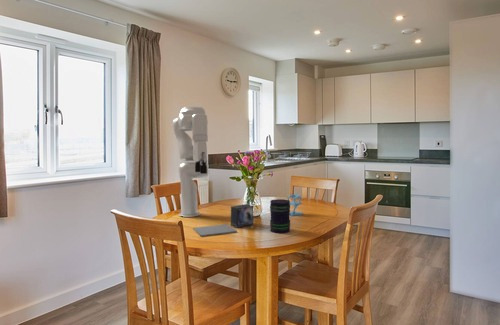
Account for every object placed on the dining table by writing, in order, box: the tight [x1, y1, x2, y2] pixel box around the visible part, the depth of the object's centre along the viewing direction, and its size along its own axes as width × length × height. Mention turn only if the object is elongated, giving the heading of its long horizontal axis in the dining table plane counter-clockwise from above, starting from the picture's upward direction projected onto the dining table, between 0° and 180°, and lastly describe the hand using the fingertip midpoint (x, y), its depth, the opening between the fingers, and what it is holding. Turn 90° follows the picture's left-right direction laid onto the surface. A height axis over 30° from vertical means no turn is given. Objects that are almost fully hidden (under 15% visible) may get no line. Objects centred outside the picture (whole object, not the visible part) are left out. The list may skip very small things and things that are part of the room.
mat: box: [192, 223, 238, 237], centre depth 180 cm, size 15×18×1 cm
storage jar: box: [269, 198, 291, 234], centre depth 178 cm, size 10×10×15 cm
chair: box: [286, 193, 304, 217], centre depth 215 cm, size 8×8×12 cm
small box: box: [230, 203, 254, 229], centre depth 190 cm, size 11×6×10 cm, turn 126°
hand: (200, 172), depth 182 cm, fingers open, 9 cm apart
